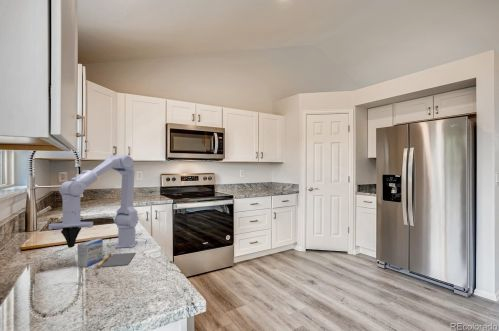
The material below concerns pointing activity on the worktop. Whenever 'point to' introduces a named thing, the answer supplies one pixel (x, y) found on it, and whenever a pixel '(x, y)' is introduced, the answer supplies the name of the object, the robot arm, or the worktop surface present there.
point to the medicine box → (90, 252)
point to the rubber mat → (119, 260)
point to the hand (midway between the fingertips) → (71, 246)
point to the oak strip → (103, 261)
